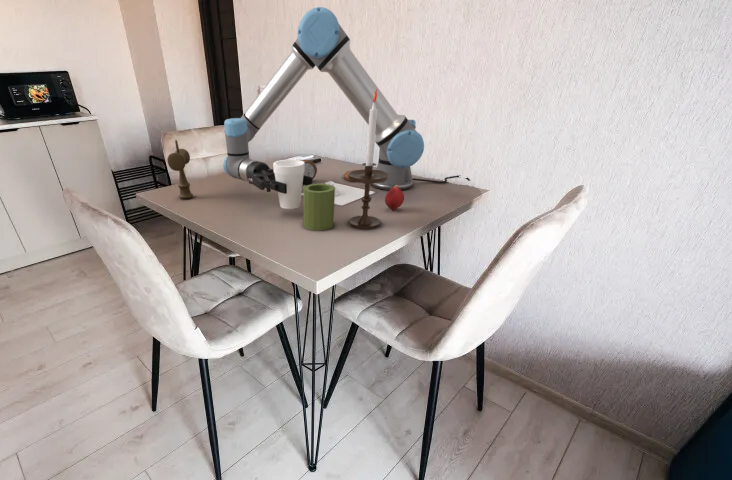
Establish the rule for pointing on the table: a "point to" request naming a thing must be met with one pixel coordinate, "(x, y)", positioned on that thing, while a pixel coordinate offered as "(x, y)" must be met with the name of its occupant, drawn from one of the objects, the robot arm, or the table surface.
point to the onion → (394, 198)
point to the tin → (310, 168)
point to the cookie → (347, 175)
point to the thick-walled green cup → (318, 206)
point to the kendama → (180, 170)
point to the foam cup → (290, 181)
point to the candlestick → (368, 176)
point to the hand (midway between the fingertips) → (298, 185)
